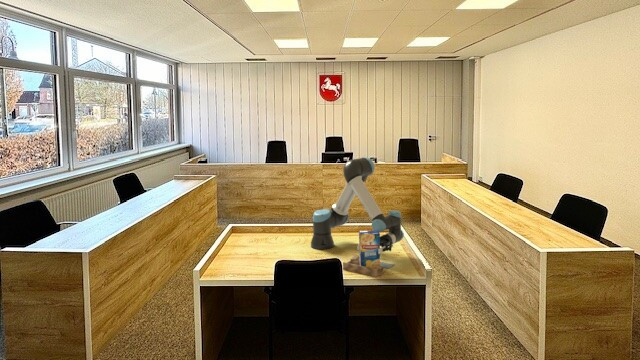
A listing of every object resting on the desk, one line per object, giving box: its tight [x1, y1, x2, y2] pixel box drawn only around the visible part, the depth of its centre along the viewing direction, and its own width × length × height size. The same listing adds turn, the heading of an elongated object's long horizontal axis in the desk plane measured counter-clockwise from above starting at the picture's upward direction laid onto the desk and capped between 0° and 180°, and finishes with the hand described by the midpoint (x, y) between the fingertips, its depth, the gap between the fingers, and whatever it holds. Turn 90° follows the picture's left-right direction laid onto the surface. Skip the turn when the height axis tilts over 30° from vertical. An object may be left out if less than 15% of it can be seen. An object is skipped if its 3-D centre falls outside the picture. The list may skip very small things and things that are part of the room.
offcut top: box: [349, 254, 359, 264], centre depth 306 cm, size 3×7×3 cm, turn 158°
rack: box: [342, 260, 385, 278], centre depth 299 cm, size 22×8×4 cm, turn 54°
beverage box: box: [358, 230, 381, 270], centre depth 299 cm, size 7×11×22 cm, turn 92°
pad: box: [380, 261, 395, 269], centre depth 309 cm, size 16×7×1 cm, turn 54°
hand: (368, 249), depth 297 cm, fingers open, 13 cm apart
